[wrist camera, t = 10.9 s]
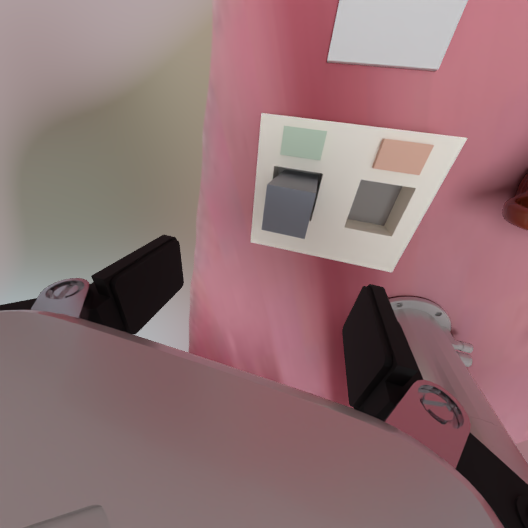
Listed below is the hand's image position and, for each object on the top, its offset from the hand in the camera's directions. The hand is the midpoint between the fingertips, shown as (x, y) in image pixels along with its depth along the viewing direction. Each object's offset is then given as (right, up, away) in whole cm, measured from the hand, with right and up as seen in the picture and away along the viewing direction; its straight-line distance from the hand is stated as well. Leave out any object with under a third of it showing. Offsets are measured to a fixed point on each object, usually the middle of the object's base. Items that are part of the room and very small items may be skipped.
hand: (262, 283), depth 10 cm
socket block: (+9, +10, +16) cm, 21 cm away
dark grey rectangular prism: (+4, +10, +15) cm, 19 cm away
